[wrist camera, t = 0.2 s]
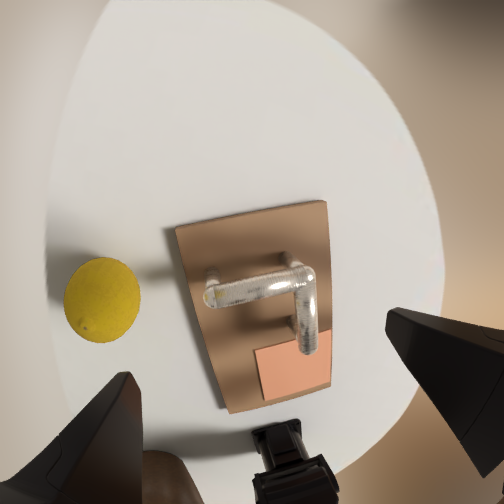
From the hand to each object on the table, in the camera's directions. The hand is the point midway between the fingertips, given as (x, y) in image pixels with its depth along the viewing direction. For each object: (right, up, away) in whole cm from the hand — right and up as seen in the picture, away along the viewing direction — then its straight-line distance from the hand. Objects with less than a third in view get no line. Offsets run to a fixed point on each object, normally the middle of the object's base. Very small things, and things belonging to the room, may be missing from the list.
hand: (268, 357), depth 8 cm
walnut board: (+1, -3, +17) cm, 17 cm away
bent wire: (-1, 0, +15) cm, 15 cm away
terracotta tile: (+4, -8, +19) cm, 21 cm away
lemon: (-12, +1, +13) cm, 17 cm away
